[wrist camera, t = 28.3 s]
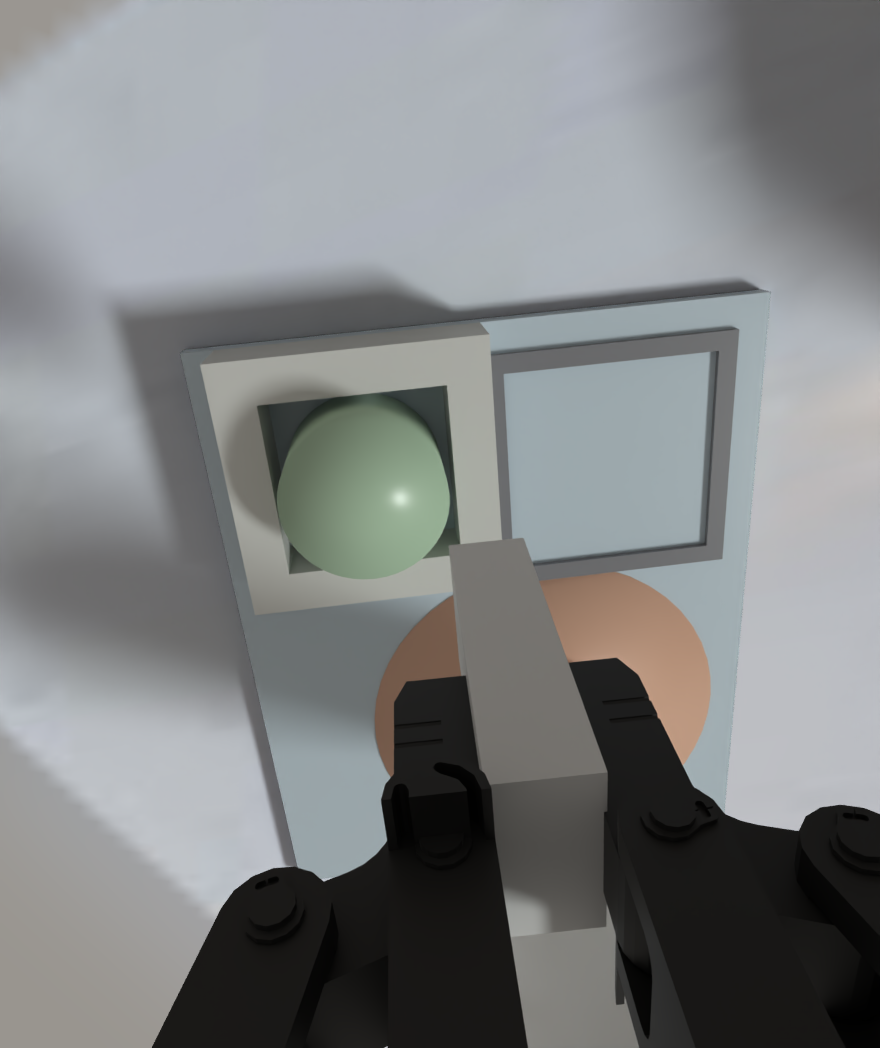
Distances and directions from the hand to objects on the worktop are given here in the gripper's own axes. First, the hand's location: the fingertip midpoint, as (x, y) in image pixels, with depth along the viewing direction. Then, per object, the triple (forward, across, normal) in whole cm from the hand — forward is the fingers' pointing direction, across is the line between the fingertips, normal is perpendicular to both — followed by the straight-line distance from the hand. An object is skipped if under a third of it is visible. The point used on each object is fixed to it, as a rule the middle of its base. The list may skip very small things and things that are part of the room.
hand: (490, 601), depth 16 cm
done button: (+9, -3, 0) cm, 10 cm away
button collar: (+10, -3, 0) cm, 10 cm away
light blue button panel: (+11, +1, -7) cm, 13 cm away
